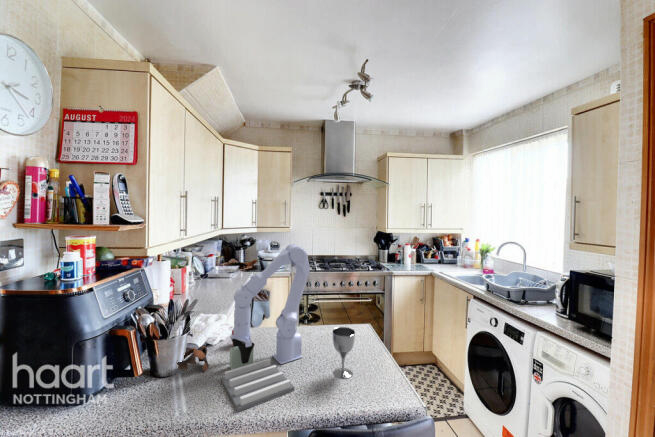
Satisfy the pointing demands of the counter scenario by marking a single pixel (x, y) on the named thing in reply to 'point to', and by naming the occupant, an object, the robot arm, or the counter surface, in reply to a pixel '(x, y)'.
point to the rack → (255, 384)
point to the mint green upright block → (238, 358)
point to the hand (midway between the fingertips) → (241, 358)
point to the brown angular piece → (194, 358)
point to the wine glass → (343, 349)
